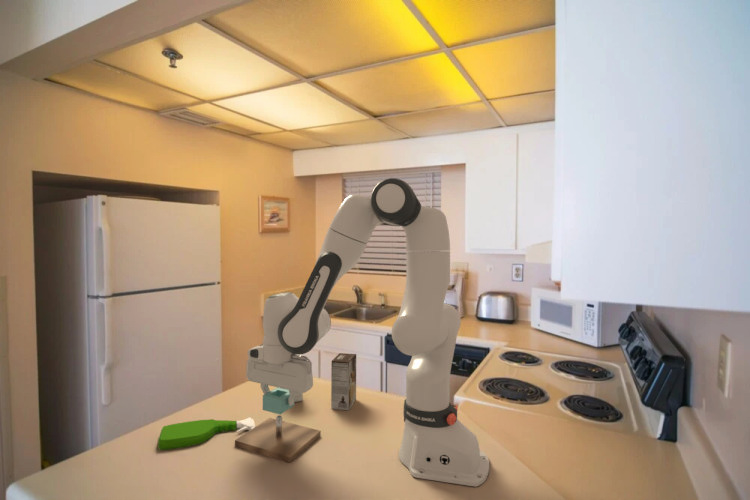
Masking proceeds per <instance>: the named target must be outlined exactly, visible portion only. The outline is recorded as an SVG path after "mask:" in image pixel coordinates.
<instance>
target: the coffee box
mask: <svg viewBox="0 0 750 500" xmlns="http://www.w3.org/2000/svg"><path fill="white" fill-rule="evenodd" d="M330 376H331V377H330V378H331V384H330V387H331V389H330V390H331V395H330V396H331V399H330V400H331V401H330V402H331V403H330V405H331V406H330V408H331V409H332V410H341V411H350V410H351V408H352V406H353V404H354V403H355V401H356V399H357V354H356V353H342V352H341V353H340V352H339V353H338V354H337V355H336V356H335V357H334V358H333V359H332V360H331V375H330Z"/></svg>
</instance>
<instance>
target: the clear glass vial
mask: <svg viewBox="0 0 750 500" xmlns="http://www.w3.org/2000/svg"><path fill="white" fill-rule="evenodd" d="M275 419H276V436H277V437H280V436H282V421H283V417H282V415H280V414H277V416H276V417H275Z"/></svg>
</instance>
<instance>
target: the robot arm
mask: <svg viewBox="0 0 750 500" xmlns="http://www.w3.org/2000/svg"><path fill="white" fill-rule="evenodd" d="M379 225H381V226H382V225H383V226H392V227H402V229H403V230H404V233H405V237H406V239H405V240H406V244H405V245H406V248H405V249H406V280H405V285H404V287H405V288H404V291H403V296H402V297H403V298H402V302H401V306H400V310H399V312H398V316H397V317H396V319H395V320H394V323H393V325H392V327H391V339H392V341H393V343H394V346H395V347H396V348H397V350H398V351H400V353H402V354H403V355H406V356H411V359H410V362H409V364H408V365H407V368H406V373H405V374H406V376H405V387H406V388H405V399H404V401H403V414H402V415H403V422H404V428H403V434H402V435H403V436H402V439H401V444H400V448H399V451H398V458H399V460H400V462H401V463H402V464H403V466H405V467H406V468H407V469H408V470H409V473H410V474H411V476H412V477H414V478H418V479H422V480H430V481H437V482H442V483H449V484H454V485H455V484H456V485H461V486H468V487H478V486H481V485H482V484H484V482H486V480H487V478H488V475H489V473H490V461H489V457H488V455H487V454H486V453H485V452H484V451H482V450H480V444H479V440H478V438H477V436H476V434H475V433H474V432H473V431H471V430H470V429H469V428H468V427H467V426H465V425H464V423H462V422H461V421H460V420H459V419H458V407H459V406H458V404H456V405H455V407H454V405H453V404H452V403H451V402H450V387H451V386H450V385H451V384H450V382H451V379H450V378H451V370H452V365H453V364H452V363H453V359H454V356H455V355H454V354H455V348H456V344H457V343H456V342H457V337H458V335H459V330H460V328H461V323H462V321H461V320H462V319H461V315H460V313H459V311H458V310H457V308H455V307H454V306H453V305H452V304H448V303H445V300H446V293H447V291H448V288H449V286H450V283H451V243H450V242H451V241H450V233H449V226H448V221H447V216H446V215H445V213H444V212H443V211H442V210H441V209H437V208H436V207H429V206H428V207H426V206H422V203H421V202H420V200H419V199H418V197H417V195H416V193H415V191H414V190H413V188H412V187H411V186H410V185H409V183H407V182H406V181H404V180H403V179H400V178H396V177H393V178H392V177H390V178H386V179H385V178H384V179H383V180H381V181H380V182H378V183H377V184H376V185H375V187H373V190H372V192H371V195H370V197H366V196H364V195H361V194H350V195H348V196H346V197H345V199H344V200H343V201H342V203H341V204H340V205H339V207H338V209H337V211H336V213H334V216H333V218H332V220H331V223H330V225H329V227H328V229H327V232H326V234H325V237H324V239H323V242H322V245H321V248H320V250H319V253H318V256H317V258H316V262H315V264H314V267H313V269H312V270H311V273H310V275H309V277H308V279H307V281H306V283H305V285H304V287H303V290H302V291H301V294H300V296H299V297H298V296H297V295H296V294H295V293H293V292H289V291H288V292H286V291H285V292H280V293H277V294H272V295H270V296H269V297H267V298H266V299H265V302H264V307H263V313H262V315H263V316H262V327H263V333H264V334H263V335H264V336H263V339H262V344H260V345H256V346H254V347H252V348H249V349H248V350H247V357H248V358H247V361H246V373H245V374H246V375H245V376H246V379H247V381H249V382H250V383H251V382H252V383H256V384H260V389H261V390H262V393H263V395H264V394H266V393H268V392H270V391H271V390H270V387H269V386H271V387H274V388H283V389H288V390H289V393H290V394H291V395H290V396H289V397H288V398H286V405H290V406H291V405H293V404H294V405H295V402H294V397H295V396H296V394H297V392H301V393H303V394H304V393H307V392H309V391H310V390H311V389H312V388H313V387H314V379H313V369H312V368H313V367H312V366H313V365H312V364H313V363H312V361H311V360H310V358H308V356H306V355H305V354H308V353H309V352H311V350H313V349H314V347H316V345H317V344H318V342H320V340H322V338H324V337H325V335H327V333H328V332H329V331H330V329H331V325H332V321H331V316H330V314H329V312H328V311H327V309H326V308H325V306H326V303H327V301H328V300H329V299H328V298H329V297H330V295H331V293H332V292H333V291H332V290H333V288H334V287H335V285H336V284H337V283H338V282H339V280H341V279H342V277H343V276H345V275H346V274H347V273H348V272H349V271H351V270H352V269H353V268H355V266H356V265H357V263H358V262H359V261H360V259H361V257H362V256H363V254H364V252H365V251H366V248H367V246H368V243H369V241H370V239H371V237H372V235H373V232H374V230H375V229H376V228H377V227H378V226H379ZM296 354H300V355H301V356H300V355H296Z"/></svg>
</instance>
